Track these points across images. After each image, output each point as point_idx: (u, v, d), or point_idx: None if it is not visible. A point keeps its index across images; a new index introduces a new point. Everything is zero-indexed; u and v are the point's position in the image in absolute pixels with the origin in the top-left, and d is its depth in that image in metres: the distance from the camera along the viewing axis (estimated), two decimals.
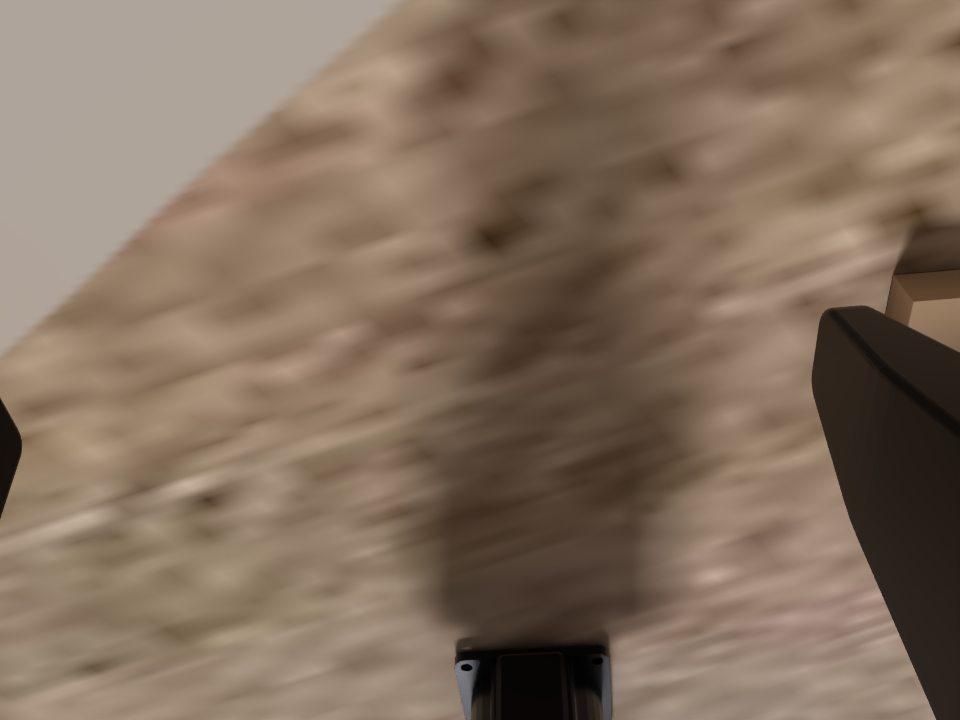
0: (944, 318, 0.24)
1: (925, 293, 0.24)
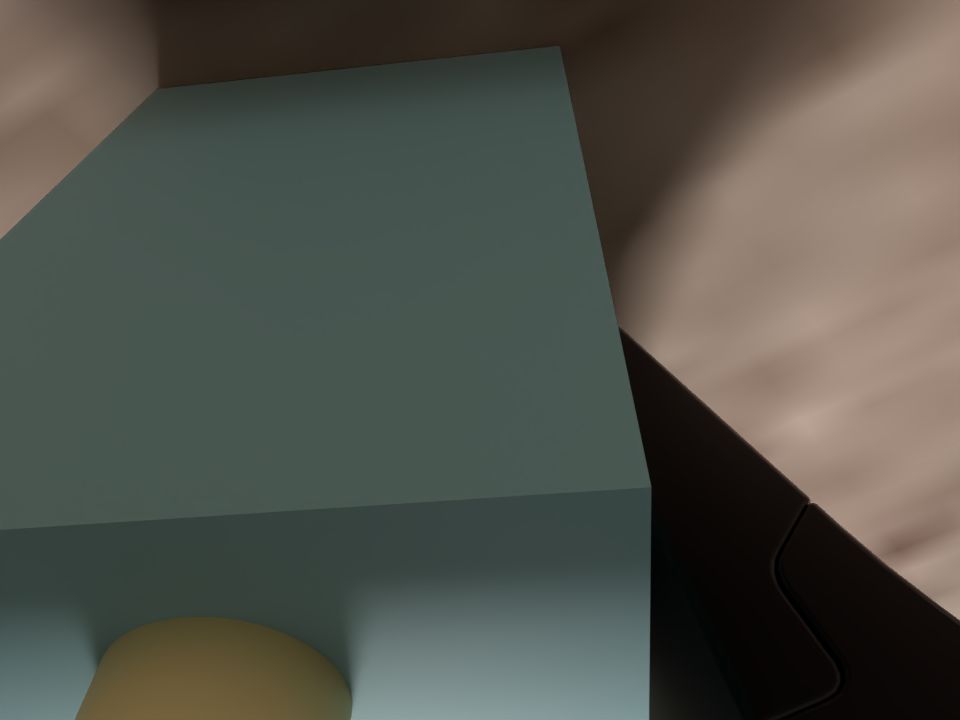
0: None
1: None
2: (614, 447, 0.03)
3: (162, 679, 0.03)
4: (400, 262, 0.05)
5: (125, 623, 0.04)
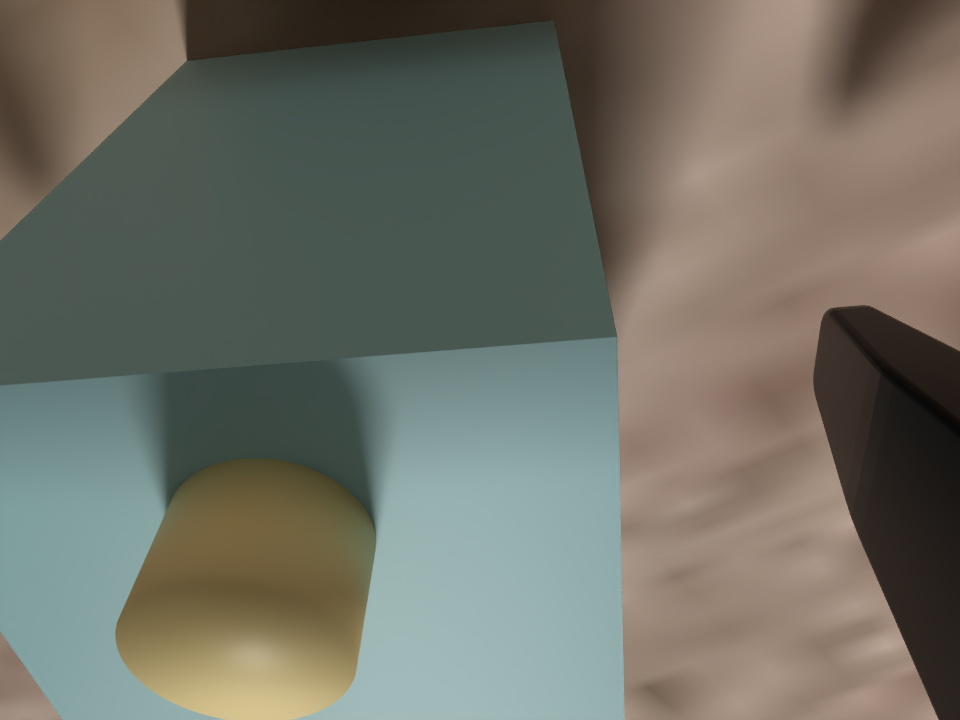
0: None
1: None
2: (591, 312, 0.04)
3: (227, 499, 0.04)
4: (413, 189, 0.06)
5: (194, 463, 0.05)
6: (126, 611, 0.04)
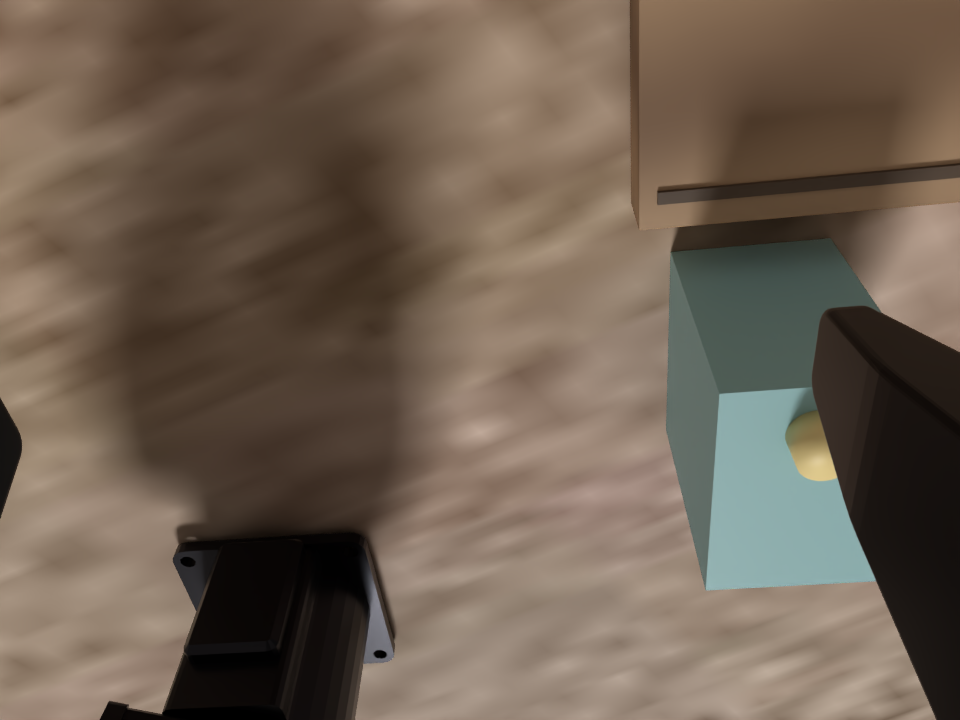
0: None
1: None
2: None
3: None
4: None
5: (804, 411, 0.17)
6: (808, 445, 0.16)
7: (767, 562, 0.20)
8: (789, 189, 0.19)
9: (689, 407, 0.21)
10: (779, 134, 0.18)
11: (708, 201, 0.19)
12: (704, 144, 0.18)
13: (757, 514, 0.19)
